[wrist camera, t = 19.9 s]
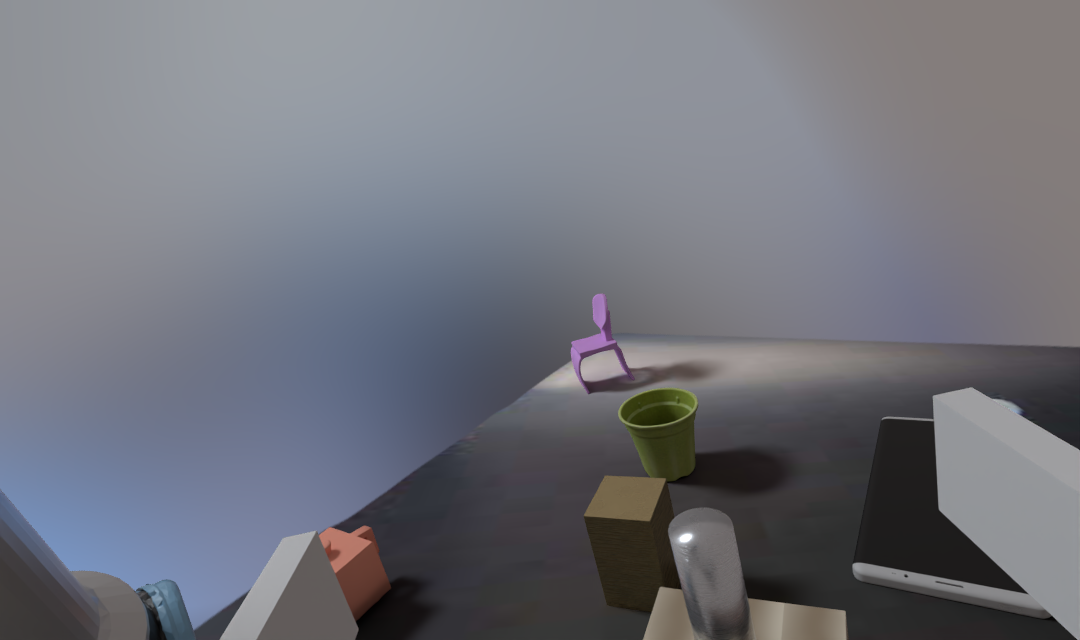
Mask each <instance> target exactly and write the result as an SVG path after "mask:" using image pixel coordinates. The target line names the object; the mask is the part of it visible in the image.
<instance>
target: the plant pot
mask: <svg viewBox="0 0 1080 640" xmlns="http://www.w3.org/2000/svg"><path fill="white" fill-rule="evenodd" d="M697 408H698V400H697V398H696V396H695V395H694V394H693V393H691V392H689V391H687V390H683V389H679V388H659V389H653V390H648V391H645V392H642V393H639V394H637V395H635V396H633V397H631V398H629V399H628V400H626V401H625V402H624V403H623V404H622V406H621V407H620V408H619V412H618V415H619V418H620V420H621V422H622V423H624V424H625V426H626V428H627V430H628V431H629V432H630V434H631V436H632V439H633V441H634V444H635V446H636V448H637V451H638V453H639V456H640V458H641V461H642V463H643V466H644V468H645V471H646V472H647V474H648V475H649V476H650V477H651V478H666V479H667V481H675V480H677V479H678V478H680V477H682V476H688V475H689V474H690V473H691V472H692V471H693V470H694V468H695V441H694V420H695V415H696V414H695V412H696V410H697Z"/></svg>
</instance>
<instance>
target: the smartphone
mask: <svg viewBox="0 0 1080 640" xmlns="http://www.w3.org/2000/svg"><path fill="white" fill-rule="evenodd" d="M853 574H854V576H855V577H856V578H857V579H858V580H860V581H862V582H865V583H870V584H875V585H880V586H885V587H890V588H894V589H899V590H904V591H909V592H914V593H919V594H924V595H928V596H933V597H938V598H943V599H948V600H953V601H958V602H962V603H967V604H972V605H977V606H982V607H987V608H992V609H996V610H1001V611H1006V612H1011V613H1016V614H1021V615H1026V616H1030V617H1035V618H1041V619H1045V618H1049V617H1051V616H1052V615H1051V614H1050V613H1049V612H1048V611H1047V610H1046V609H1044V608H1043V607H1042V606H1041V605H1040V604H1039V603H1038V602H1037V601H1036V600H1035V599H1034V598H1033V597H1032V596H1031V595H1029V594H1028V593H1027V592H1026V591H1025V590H1024V589H1023V588H1022V587H1021V586H1020V585H1019V584H1018V583H1017V582H1016V581H1014V580H1013V579H1012V578H1011V577H1010V576H1009V575H1008V574H1007V573H1006V572H1005V571H1004V570H1003V569H1002V568H1001V567H999V566H998V565H997V564H996V563H995V562H994V561H993V560H992V559H991V558H990V557H989V556H988V555H987V554H986V553H985V552H983V551H982V550H981V549H980V548H979V547H978V546H977V545H976V544H975V543H974V542H973V541H972V540H971V539H970V538H968V537H967V536H966V535H965V534H964V533H963V532H962V531H961V530H960V529H959V528H958V527H957V526H956V525H955V524H953V523H952V522H951V521H950V520H949V519H948V518H947V517H946V516H945V515H944V514H943V513H942V512H941V511H940V510H939V505H938V485H937V466H936V447H935V427H934V419H921V418H904V417H885V418H883V419H882V420H881V424H880V429H879V434H878V439H877V444H876V449H875V455H874V460H873V465H872V470H871V475H870V480H869V485H868V490H867V495H866V500H865V505H864V510H863V515H862V521H861V526H860V531H859V536H858V541H857V546H856V551H855V556H854V561H853Z"/></svg>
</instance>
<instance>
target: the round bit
mask: <svg viewBox="0 0 1080 640" xmlns="http://www.w3.org/2000/svg"><path fill="white" fill-rule="evenodd" d="M668 534H669V538H670V542H671V546H672V550H673V554H674V559H675V563H676V567H677V571H678V575H679V579H680V583H681V587H682V591H683V595H684V599H685V603H686V607H687V611H688V616H689V620H690V624H691V628H692V632H693V636H694V640H756V636H755V631H754V626H753V621H752V616H751V612H750V607H749V602H748V597H747V592H746V587H745V582H744V577H743V573H742V568H741V563H740V558H739V553H738V548H737V543H736V538H735V534H734V529H733V524H732V521H731V520H730V518H729V517H728V516H727V515H726V514H724V513H723V512H721V511H719V510H716V509H711V508H695V509H690V510H687V511H684V512H682V513H680V514H679V515H677V516H676V517H675V518H674V519H673V520H672V521H671V523H670V525H669V528H668Z"/></svg>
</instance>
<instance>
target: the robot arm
mask: <svg viewBox="0 0 1080 640" xmlns="http://www.w3.org/2000/svg"><path fill="white" fill-rule="evenodd" d="M933 408H934V427H935V447H936V466H937V485H938V505H939V510H940V511H941V512H942V513H943V514H944V515H945V516H946V517H947V518H948V519H949V520H950V521H951V522H952V523H953V524H955V525H956V526H957V527H958V528H959V529H960V530H961V531H962V532H963V533H964V534H965V535H966V536H967V537H968V538H970V539H971V540H972V541H973V542H974V543H975V544H976V545H977V546H978V547H979V548H980V549H981V550H982V551H983V552H985V553H986V554H987V555H988V556H989V557H990V558H991V559H992V560H993V561H994V562H995V563H996V564H997V565H998V566H999V567H1001V568H1002V569H1003V570H1004V571H1005V572H1006V573H1007V574H1008V575H1009V576H1010V577H1011V578H1012V579H1013V580H1014V581H1016V582H1017V583H1018V584H1019V585H1020V586H1021V587H1022V588H1023V589H1024V590H1025V591H1026V592H1027V593H1028V594H1029V595H1031V596H1032V597H1033V598H1034V599H1035V600H1036V601H1037V602H1038V603H1039V604H1040V605H1041V606H1042V607H1043V608H1044V609H1046V610H1047V611H1048V612H1049V613H1050V614H1051V615H1052V616H1053V617H1054V618H1055V619H1056V620H1057V621H1058V622H1059V623H1060V624H1062V625H1063V626H1064V627H1065V628H1066V629H1067V630H1068V631H1069V632H1070V633H1071V634H1072V635H1073V636H1074V637H1075V638H1077V639H1078V640H1080V450H1078V449H1077V448H1075V447H1073V446H1071V445H1070V444H1068V443H1066V442H1065V441H1063V440H1061V439H1059V438H1058V437H1056V436H1054V435H1052V434H1051V433H1049V432H1047V431H1046V430H1044V429H1042V428H1040V427H1039V426H1037V425H1035V424H1034V423H1032V422H1030V421H1028V420H1027V419H1025V418H1023V417H1022V416H1020V415H1018V414H1016V413H1015V412H1013V411H1011V410H1010V409H1008V408H1006V407H1004V406H1003V405H1001V404H999V403H998V402H996V401H994V400H992V399H991V398H989V397H987V396H986V395H984V394H982V393H980V392H979V391H977V390H975V389H974V388H972V387H971V388H967V389H962V390H957V391H953V392H948V393H944V394H939V395H935V396H933ZM358 630H359V629H358V626H357V624H356V622H355V619H354V617H353V615H352V612H351V610H350V608H349V605H348V603H347V601H346V598H345V596H344V594H343V591H342V589H341V587H340V584H339V582H338V580H337V577H336V575H335V572H334V570H333V568H332V565H331V563H330V561H329V558H328V556H327V554H326V551H325V549H324V547H323V544H322V542H321V540H320V537H319V535H318V533H317V531H313V532H309V533H304V534H300V535H295V536H290V537H286V538H283V539H282V541H281V543H280V544H279V546H278V547H277V549H276V551H275V552H274V554H273V555H272V557H271V559H270V560H269V562H268V563H267V565H266V566H265V568H264V570H263V571H262V573H261V575H260V576H259V578H258V579H257V581H256V582H255V584H254V586H253V587H252V589H251V590H250V592H249V594H248V595H247V597H246V598H245V600H244V602H243V603H242V605H241V606H240V608H239V610H238V611H237V613H236V614H235V616H234V618H233V619H232V621H231V622H230V624H229V625H228V627H227V629H226V630H225V632H224V633H223V635H222V637H221V638H220V640H355V638H356V635H357V633H358ZM0 640H196V637H195V634H194V631H193V628H192V625H191V622H190V619H189V616H188V613H187V610H186V607H185V605H184V602H183V599H182V596H181V593H180V590H179V588H178V586H177V584H176V583H175V582H174V581H171V580H162V581H159V582H157V583H155V584H152V585H151V584H146V585H145V586H143V587H140V588H138V589H137V590H136V591H134V590H133V589H132V588H131V587H130V586H129V585H128V584H127V583H125V582H123V581H122V580H121V579H119V578H116V577H114V576H111V575H108V574H104V573H99V572H93V571H69V569H68V568H67V567H66V566H65V565H64V564H63V562H62V561H61V560H60V559H59V558H58V557H57V555H56V554H55V553H54V552H53V551H52V550H51V548H50V547H49V546H48V545H47V544H46V543H45V541H44V540H43V539H42V538H41V537H40V536H39V534H38V533H37V532H36V531H35V530H34V528H33V527H32V526H31V525H30V524H29V523H28V522H27V521H26V519H25V518H24V517H23V515H22V514H21V513H20V512H19V511H18V510H17V509H16V507H15V506H14V505H13V504H12V503H11V501H10V500H9V499H8V498H7V497H6V496H5V494H4V493H3V492H2V491H1V490H0Z"/></svg>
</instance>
